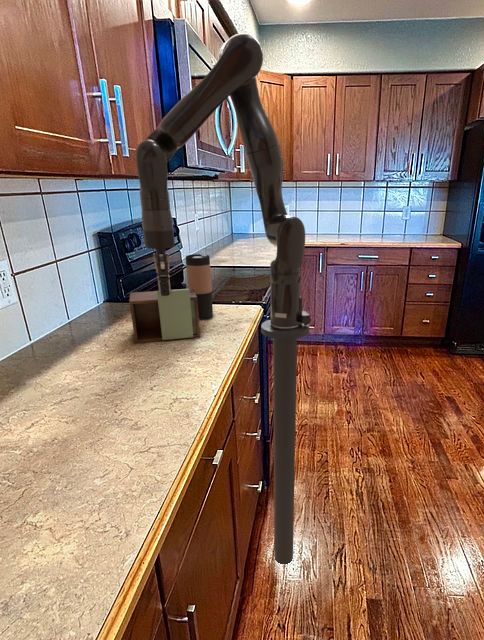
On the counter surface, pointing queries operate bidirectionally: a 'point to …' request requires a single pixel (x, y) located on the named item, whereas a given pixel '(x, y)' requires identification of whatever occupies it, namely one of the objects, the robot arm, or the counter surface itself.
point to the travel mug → (200, 283)
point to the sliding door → (175, 313)
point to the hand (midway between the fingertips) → (165, 293)
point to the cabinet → (155, 316)
